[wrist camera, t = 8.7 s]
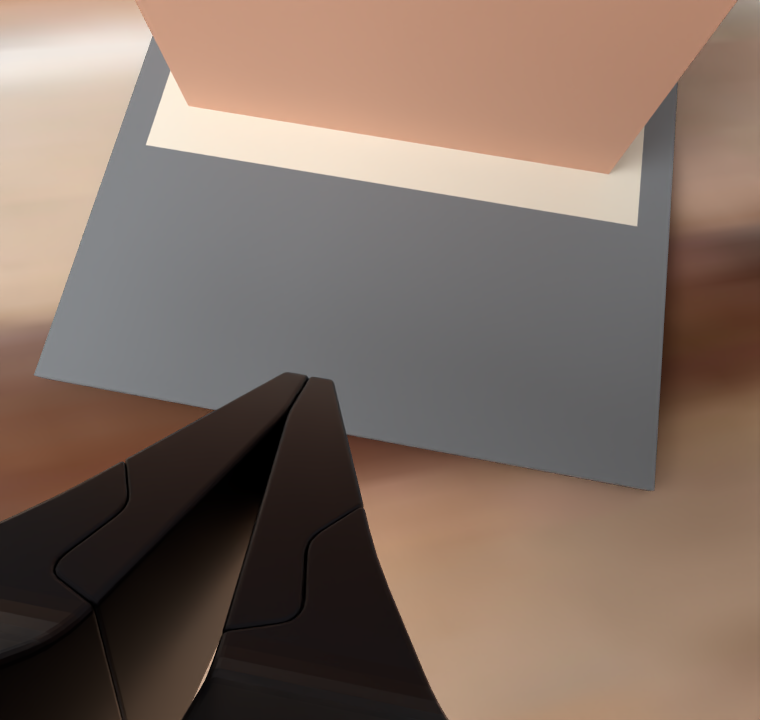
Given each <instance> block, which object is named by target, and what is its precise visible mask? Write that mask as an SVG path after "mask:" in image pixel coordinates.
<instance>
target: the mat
mask: <svg viewBox="0 0 760 720" xmlns="http://www.w3.org/2000/svg"><path fill="white" fill-rule="evenodd" d="M677 88H678V81H677V83H676V84H675V86H674V87H673V88H672V90H671V91H670V92H669V94H668V95H667V96H666V98H665V99H664V100H663V102H662V103H661V104H660V106H659V107H658V108H657V110H656V111H655V112H654V114H653V115H652V117H651V118H650V119H649V121H648V122H647V123H646V125H645V126H644V127H643V129H642V130H641V131H640V133H639V134H638V135H637V137H636V138H635V139H634V141H633V142H632V143H631V145H630V146H629V148H628V149H627V150H626V152H625V153H624V154H623V156H622V157H621V158H620V160H619V161H618V162H617V164H616V165H615V166H614V168H613V169H612V170H611V172H610V173H609V174H604V173H597V172H591V171H585V170H579V169H573V168H567V167H560V166H554V165H548V164H542V163H536V162H530V161H524V160H517V159H511V158H505V157H499V156H493V155H487V154H480V153H474V152H468V151H462V150H456V149H450V148H444V147H437V146H431V145H425V144H419V143H413V142H407V141H400V140H394V139H388V138H382V137H376V136H370V135H364V134H357V133H351V132H345V131H339V130H333V129H327V128H320V127H314V126H308V125H302V124H296V123H290V122H283V121H277V120H271V119H265V118H259V117H253V116H247V115H240V114H234V113H228V112H222V111H216V110H210V109H203V108H197V107H191V106H188V104H187V102H186V100H185V98H184V96H183V94H182V92H181V90H180V88H179V86H178V84H177V82H176V81H175V79H174V77H173V75H172V73H171V71H170V69H169V67H168V65H167V63H166V61H165V59H164V57H163V55H162V53H161V51H160V49H159V47H158V45H157V43H156V41H155V39H154V37H152V39H151V42H150V45H149V48H148V51H147V54H146V57H145V59H144V62H143V65H142V68H141V71H140V74H139V77H138V79H137V82H136V85H135V88H134V91H133V94H132V97H131V99H130V102H129V105H128V108H127V111H126V114H125V117H124V119H123V122H122V125H121V128H120V131H119V134H118V137H117V139H116V142H115V145H114V148H113V151H112V154H111V157H110V159H109V162H108V165H107V168H106V171H105V174H104V177H103V179H102V182H101V185H100V188H99V191H98V194H97V197H96V200H95V202H94V205H93V208H92V211H91V214H90V217H89V220H88V222H87V225H86V228H85V231H84V234H83V237H82V240H81V242H80V245H79V248H78V251H77V254H76V257H75V260H74V262H73V265H72V268H71V271H70V274H69V277H68V280H67V282H66V285H65V288H64V291H63V294H62V297H61V300H60V302H59V305H58V308H57V311H56V314H55V317H54V320H53V322H52V325H51V328H50V331H49V334H48V337H47V340H46V342H45V345H44V348H43V351H42V354H41V357H40V360H39V362H38V365H37V368H36V371H35V374H34V375H35V376H38V377H41V378H46V379H51V380H56V381H62V382H67V383H72V384H78V385H83V386H89V387H94V388H99V389H105V390H110V391H115V392H121V393H126V394H131V395H137V396H142V397H148V398H153V399H158V400H164V401H169V402H174V403H180V404H185V405H191V406H196V407H201V408H207V409H212V410H217V409H218V408H220V407H222V406H224V405H226V404H227V403H229V402H231V401H233V400H235V399H237V398H238V397H240V396H242V395H244V394H246V393H248V392H249V391H251V390H253V389H255V388H257V387H258V386H260V385H262V384H264V383H266V382H268V381H269V380H271V379H273V378H275V377H277V376H279V375H280V374H282V373H284V372H292V373H297V374H303V375H307V376H308V378H310V377H319V378H325V379H330V380H332V381H333V382H334V384H335V388H336V392H337V397H338V401H339V405H340V409H341V413H342V418H343V422H344V426H345V430H346V434H347V435H352V436H357V437H362V438H368V439H373V440H378V441H384V442H389V443H394V444H400V445H405V446H411V447H416V448H421V449H427V450H432V451H437V452H443V453H448V454H453V455H459V456H464V457H470V458H475V459H480V460H486V461H491V462H496V463H502V464H507V465H513V466H518V467H523V468H529V469H534V470H539V471H545V472H550V473H555V474H561V475H566V476H572V477H577V478H582V479H588V480H593V481H598V482H604V483H609V484H614V485H620V486H625V487H631V488H636V489H641V490H647V491H654V488H655V471H656V453H657V436H658V418H659V401H660V384H661V366H662V349H663V331H664V314H665V297H666V279H667V262H668V244H669V227H670V209H671V192H672V175H673V157H674V140H675V122H676V105H677Z"/></svg>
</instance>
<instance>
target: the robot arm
mask: <svg viewBox="0 0 760 720" xmlns="http://www.w3.org/2000/svg"><path fill="white" fill-rule="evenodd" d="M363 507H364V506H363V502H362V497H361V493H360V489H359V485H358V481H357V476H356V472H355V468H354V464H353V460H352V455H351V451H350V447H349V443H348V439H347V434H346V430H345V426H344V422H343V418H342V413H341V409H340V405H339V401H338V397H337V392H336V388H335V384H334V382H333V381H332V380H330V379H325V378H319V377H310V378H308V376H307V375H303V374H297V373H292V372H284V373H282V374H280V375H279V376H277V377H275V378H273V379H271V380H269V381H268V382H266V383H264V384H262V385H260V386H258V387H257V388H255V389H253V390H251V391H249V392H248V393H246V394H244V395H242V396H240V397H238V398H237V399H235V400H233V401H231V402H229V403H227V404H226V405H224V406H222V407H220V408H218V409H217V410H215V411H213V412H211V413H209V414H207V415H206V416H204V417H202V418H200V419H198V420H196V421H195V422H193V423H191V424H189V425H187V426H186V427H184V428H182V429H180V430H178V431H176V432H175V433H173V434H171V435H169V436H167V437H165V438H164V439H162V440H160V441H158V442H156V443H155V444H153V445H151V446H149V447H147V448H145V449H144V450H142V451H140V452H138V453H136V454H134V455H133V456H131V457H129V458H127V459H126V461H125V463H124V462H120V463H118V464H116V465H114V466H112V467H110V468H109V469H107V470H105V471H103V472H101V473H99V474H98V475H96V476H94V477H92V478H90V479H88V480H86V481H84V482H82V483H80V484H78V485H76V486H75V487H73V488H71V489H69V490H67V491H65V492H63V493H61V494H59V495H57V496H55V497H53V498H50V499H48V500H46V501H44V502H42V503H40V504H38V505H36V506H33V507H31V508H29V509H27V510H25V511H23V512H21V513H19V514H17V515H14V516H12V517H10V518H8V519H5V520H3V521H1V522H0V720H448V718H447V717H446V715H445V714H444V712H443V710H442V708H441V707H440V705H439V703H438V701H437V699H436V697H435V695H434V693H433V691H432V689H431V687H430V685H429V682H428V680H427V678H426V676H425V673H424V671H423V669H422V666H421V664H420V661H419V659H418V657H417V654H416V652H415V649H414V647H413V645H412V642H411V640H410V637H409V635H408V633H407V630H406V628H405V625H404V623H403V621H402V618H401V616H400V613H399V611H398V609H397V606H396V604H395V601H394V599H393V597H392V594H391V592H390V589H389V587H388V584H387V581H386V579H385V576H384V573H383V571H382V568H381V565H380V562H379V560H378V557H377V554H376V550H375V547H374V543H373V540H372V536H371V533H370V529H369V525H368V521H367V517H366V513H365V510H364V509H363ZM218 643H219V644H218ZM217 645H218V647H217ZM216 648H217V650H216ZM215 650H216V653H215V656H214V659H213V662H212V664H211V667H210V669H209V672H208V674H207V677H206V679H205V681H204V683H203V685H202V686H201V688H200V690H199V692H198V693H197V695H196V697H195V698H194V696H195V694H196V692H197V690H198V688H199V685H200V683H201V681H202V679H203V676H204V674H205V672H206V670H207V668H208V665H209V663H210V661H211V659H212V656H213V654H214V652H215ZM193 699H194V700H193ZM192 701H193V702H192Z"/></svg>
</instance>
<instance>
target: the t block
mask: <svg viewBox="0 0 760 720" xmlns="http://www.w3.org/2000/svg"><path fill="white" fill-rule="evenodd" d="M135 1H136V3H137V5H138V7H139V9H140V11H141V13H142V15H143V17H144V19H145V21H146V23H147V25H148V27H149V29H150V31H151V33H152V35H153V37H154V39H155V41H156V43H157V45H158V47H159V49H160V51H161V53H162V55H163V57H164V59H165V61H166V63H167V65H168V67H169V69H170V71H171V73H172V75H173V77H174V79H175V81H176V82H177V84H178V86H179V88H180V90H181V92H182V94H183V96H184V98H185V100H186V102H187V104H188V106H191V107H197V108H203V109H210V110H216V111H222V112H228V113H234V114H240V115H247V116H253V117H259V118H265V119H271V120H277V121H283V122H290V123H296V124H302V125H308V126H314V127H320V128H327V129H333V130H339V131H345V132H351V133H357V134H364V135H370V136H376V137H382V138H388V139H394V140H400V141H407V142H413V143H419V144H425V145H431V146H437V147H444V148H450V149H456V150H462V151H468V152H474V153H480V154H487V155H493V156H499V157H505V158H511V159H517V160H524V161H530V162H536V163H542V164H548V165H554V166H560V167H567V168H573V169H579V170H585V171H591V172H597V173H604V174H609V173H610V172H611V170H612V169H613V168H614V166H615V165H616V164H617V162H618V161H619V160H620V158H621V157H622V156H623V154H624V153H625V152H626V150H627V149H628V148H629V146H630V145H631V143H632V142H633V141H634V139H635V138H636V137H637V135H638V134H639V133H640V131H641V130H642V129H643V127H644V126H645V125H646V123H647V122H648V121H649V119H650V118H651V117H652V115H653V114H654V112H655V111H656V110H657V108H658V107H659V106H660V104H661V103H662V102H663V100H664V99H665V98H666V96H667V95H668V94H669V92H670V91H671V90H672V88H673V87H674V86H675V84H676V83H677V81H678V80H679V79H680V77H681V76H682V75H683V73H684V72H685V71H686V69H687V68H688V67H689V65H690V64H691V63H692V61H693V60H694V59H695V57H696V56H697V55H698V53H699V52H700V50H701V49H702V48H703V46H704V45H705V44H706V42H707V41H708V40H709V38H710V37H711V36H712V34H713V33H714V32H715V30H716V29H717V28H718V26H719V25H720V23H721V22H722V21H723V19H724V18H725V17H726V15H727V14H728V13H729V11H730V10H731V9H732V7H733V6H734V5H735V3H736V2H737V1H738V0H135Z"/></svg>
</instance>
